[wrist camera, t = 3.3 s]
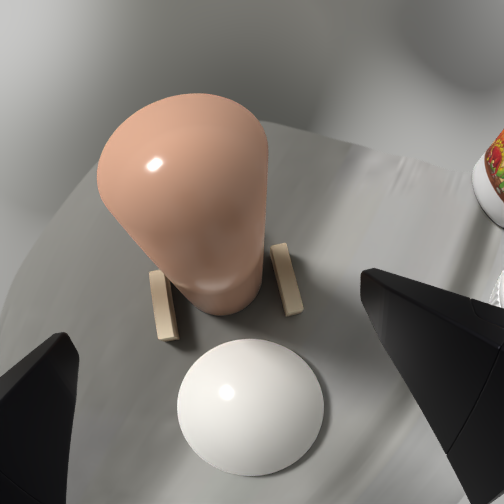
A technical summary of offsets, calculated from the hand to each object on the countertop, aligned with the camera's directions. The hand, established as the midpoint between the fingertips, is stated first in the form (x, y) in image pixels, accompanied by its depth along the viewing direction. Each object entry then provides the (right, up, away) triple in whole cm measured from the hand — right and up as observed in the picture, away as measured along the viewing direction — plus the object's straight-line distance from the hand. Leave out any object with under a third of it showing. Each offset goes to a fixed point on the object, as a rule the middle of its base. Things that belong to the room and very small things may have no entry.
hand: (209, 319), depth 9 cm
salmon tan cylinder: (-1, 0, +13) cm, 13 cm away
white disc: (+1, -8, +10) cm, 13 cm away
